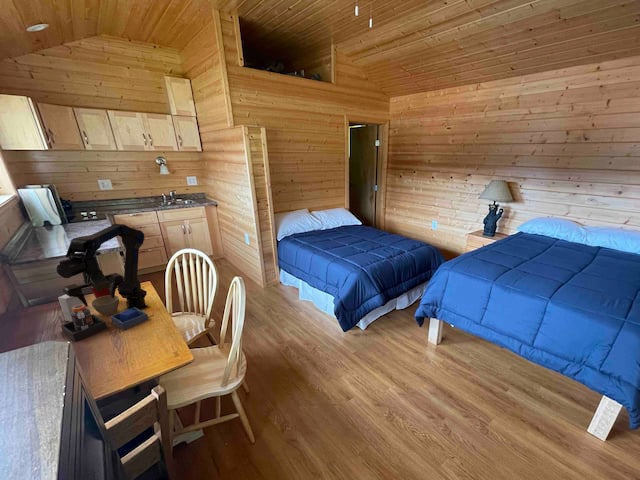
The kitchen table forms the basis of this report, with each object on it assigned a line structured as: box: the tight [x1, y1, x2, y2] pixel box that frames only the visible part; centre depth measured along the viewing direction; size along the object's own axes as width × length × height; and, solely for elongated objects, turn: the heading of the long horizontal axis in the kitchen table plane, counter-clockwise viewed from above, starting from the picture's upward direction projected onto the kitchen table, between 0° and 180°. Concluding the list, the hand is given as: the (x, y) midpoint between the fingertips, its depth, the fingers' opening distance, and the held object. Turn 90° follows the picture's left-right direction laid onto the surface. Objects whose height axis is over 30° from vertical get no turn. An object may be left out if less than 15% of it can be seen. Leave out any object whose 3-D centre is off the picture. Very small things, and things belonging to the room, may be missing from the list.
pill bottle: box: [71, 304, 94, 332], centre depth 127 cm, size 6×6×11 cm
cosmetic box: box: [57, 293, 84, 322], centre depth 134 cm, size 6×4×12 cm
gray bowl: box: [91, 295, 120, 317], centre depth 141 cm, size 10×10×7 cm
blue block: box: [119, 309, 138, 322], centre depth 136 cm, size 4×4×4 cm
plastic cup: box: [89, 287, 110, 299], centre depth 148 cm, size 11×11×12 cm
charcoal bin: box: [60, 313, 108, 342], centre depth 128 cm, size 11×11×4 cm
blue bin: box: [109, 307, 149, 331], centre depth 137 cm, size 10×10×4 cm
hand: (100, 302), depth 127 cm, fingers open, 9 cm apart
